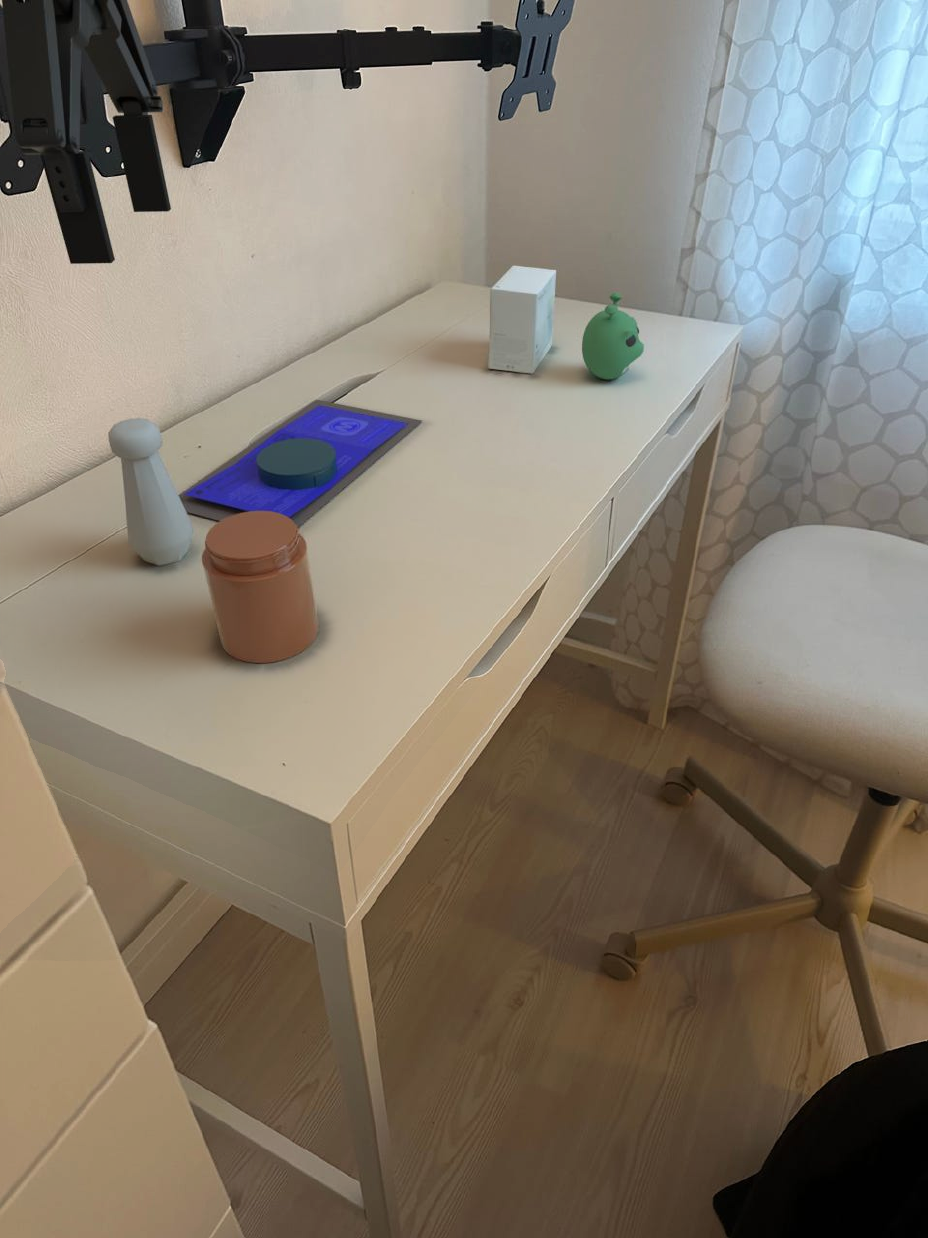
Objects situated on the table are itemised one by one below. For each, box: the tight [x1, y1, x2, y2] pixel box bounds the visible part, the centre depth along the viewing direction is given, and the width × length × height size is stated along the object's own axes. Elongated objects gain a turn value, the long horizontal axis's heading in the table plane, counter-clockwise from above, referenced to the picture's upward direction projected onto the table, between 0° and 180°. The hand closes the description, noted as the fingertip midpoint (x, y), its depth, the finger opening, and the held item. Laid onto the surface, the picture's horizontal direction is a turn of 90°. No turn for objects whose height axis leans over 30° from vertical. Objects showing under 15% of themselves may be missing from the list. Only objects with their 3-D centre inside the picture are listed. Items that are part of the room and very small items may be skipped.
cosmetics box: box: [487, 265, 557, 375], centre depth 117 cm, size 10×6×10 cm, turn 162°
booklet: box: [183, 408, 406, 518], centre depth 97 cm, size 12×25×1 cm, turn 154°
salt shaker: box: [107, 417, 194, 567], centre depth 80 cm, size 6×6×13 cm
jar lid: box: [256, 438, 337, 490], centre depth 94 cm, size 8×8×2 cm
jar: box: [201, 511, 320, 664], centre depth 71 cm, size 8×8×10 cm
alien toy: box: [581, 292, 645, 380], centre depth 111 cm, size 7×8×10 cm
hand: (125, 234), depth 64 cm, fingers open, 13 cm apart
